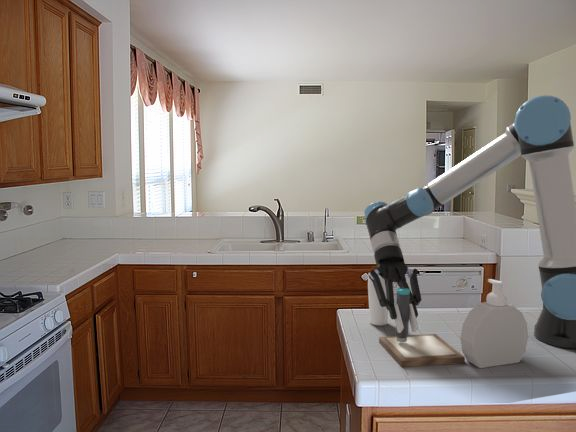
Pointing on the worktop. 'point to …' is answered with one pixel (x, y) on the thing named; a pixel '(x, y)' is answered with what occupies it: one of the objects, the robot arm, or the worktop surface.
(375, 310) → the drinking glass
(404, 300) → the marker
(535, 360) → the worktop surface
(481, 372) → the worktop surface
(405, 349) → the writing board
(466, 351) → the soap bottle
